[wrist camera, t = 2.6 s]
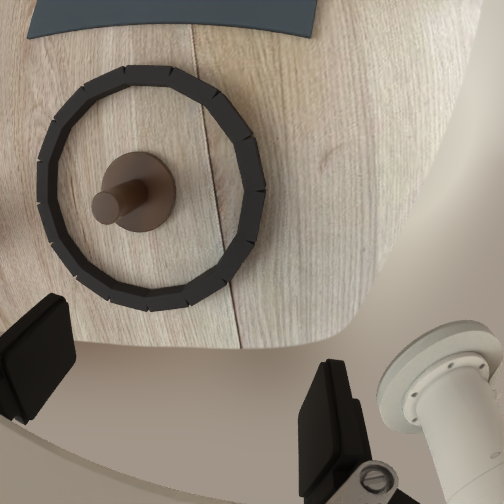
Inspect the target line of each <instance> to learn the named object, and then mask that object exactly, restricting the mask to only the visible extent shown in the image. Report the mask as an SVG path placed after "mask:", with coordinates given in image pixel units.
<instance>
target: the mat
mask: <svg viewBox="0 0 504 504" xmlns="http://www.w3.org/2000/svg"><path fill="white" fill-rule="evenodd" d="M316 5H317V0H37V3H36V6H35V9H34V13H33V16H32V20H31V23H30V27H29V31H28V35H27V39H34V38H38V37H43V36H48V35H53V34H58V33H64V32H70V31H77V30H84V29H91V28H100V27H110V26H121V25H138V24H202V25H218V26H230V27H240V28H249V29H257V30H265V31H271V32H278V33H284V34H290V35H295V36H300V37H305V38H311V34H312V28H313V22H314V17H315V11H316Z"/></svg>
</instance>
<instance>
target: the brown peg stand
mask: <svg viewBox="0 0 504 504" xmlns="http://www.w3.org/2000/svg"><path fill="white" fill-rule="evenodd" d="M175 199H176V187H175V182H174V179H173V176H172V174H171V172H170V170H169V169H168V167H167V166H166V165H165V164H164V163H163V162H162V161H161V160H160V159H158V158H157V157H155V156H153V155H151V154H148V153H144V152H132V153H128V154H124V155H122V156H120V157H119V158H117V159H116V160H114V161H113V162H112V163H111V165H110V166H109V167H108V169H107V170H106V172H105V174H104V177H103V181H102V187H101V192H100V193H98V194H97V195H96V196H95V197H94V198H93V201H92V213H93V215H94V217H95V218H96V220H97V221H99V222H100V223H102V224H106V225H109V224H112V223H114V222H115V223H116V224H118V225H119V226H121V227H122V228H124V229H126V230H129V231H133V232H147V231H150V230H153V229H155V228H157V227H158V226H160V225H161V224H162V223H163V222H164V221H165V220H166V219H167V218H168V217H169V215H170V214H171V212H172V210H173V207H174V204H175Z"/></svg>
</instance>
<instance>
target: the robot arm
mask: <svg viewBox="0 0 504 504" xmlns="http://www.w3.org/2000/svg"><path fill="white" fill-rule="evenodd" d="M75 361H76V351H75V346H74V340H73V334H72V327H71V320H70V312H69V305H68V303H67V302H66V299H65V298H64V297H63V296H60V295H57V294H54V293H50V294H48V295H47V296H46V297H45V298H43V299H42V300H41V301H40V302H39V303H38V304H36V305H35V306H34V307H33V308H32V309H31V310H29V311H28V312H27V313H26V314H25V315H24V316H23V317H21V318H20V319H19V320H18V321H17V322H16V323H15V324H14V325H13V326H11V327H10V328H9V329H8V330H7V331H6V332H5V333H4V334H3V335H2V336H1V337H0V504H243V503H236V502H231V501H226V500H220V499H214V498H209V497H205V496H200V495H196V494H191V493H187V492H183V491H179V490H175V489H171V488H167V487H164V486H160V485H157V484H154V483H150V482H147V481H144V480H140V479H138V478H134V477H131V476H129V475H126V474H122V473H120V472H117V471H114V470H112V469H109V468H106V467H104V466H101V465H99V464H96V463H94V462H91V461H89V460H86V459H84V458H82V457H80V456H77V455H75V454H73V453H71V452H69V451H67V450H65V449H62V448H60V447H58V446H56V445H54V444H52V443H50V442H48V441H46V440H44V439H42V438H40V437H38V436H37V435H35V434H33V433H31V432H29V431H28V430H26V429H24V428H22V427H21V426H19V425H17V424H15V423H13V422H12V420H13V418H15V420H17V421H19V422H20V423H22V424H24V425H26V424H27V423H28V421H29V420H33V419H34V418H35V416H36V415H37V414H38V412H39V411H40V409H41V408H42V407H43V405H44V404H45V402H46V401H47V400H48V398H49V397H50V395H51V394H52V393H53V392H54V390H55V389H56V387H57V386H58V385H59V383H60V382H61V381H62V379H63V378H64V377H65V375H66V374H67V373H68V371H69V370H70V369H71V368H72V366H73V365H74V363H75ZM488 377H489V366H488V364H487V362H486V361H485V359H484V358H483V357H482V356H481V355H480V354H478V353H475V352H459V353H456V354H453V355H450V356H447V357H445V358H443V359H441V360H439V361H438V362H436V363H434V364H433V365H431V366H430V367H429V368H427V369H426V370H425V371H423V372H422V373H421V374H420V375H419V376H418V377H417V378H416V379H415V380H414V382H413V383H412V384H411V385H410V387H409V388H408V390H407V391H406V393H405V396H404V398H403V402H402V410H403V413H404V416H405V418H406V419H407V421H408V422H410V423H411V424H414V425H417V426H421V427H422V430H423V432H424V435H425V438H426V441H427V444H428V447H429V449H430V452H431V455H432V458H433V461H434V465H435V468H436V471H437V474H438V477H439V480H440V483H441V487H442V490H443V493H444V497H445V500H446V504H504V413H503V412H502V410H501V408H500V406H499V404H498V402H497V401H496V400H497V399H500V398H501V396H502V391H501V390H492V389H491V387H490V386H489V384H488V382H487V381H488ZM298 448H299V496H300V497H304V504H420V503H418V502H417V501H415V500H414V499H412V498H411V497H409V496H408V495H406V494H405V493H403V492H402V491H401V490H399V489H398V488H397V487H398V476H397V473H396V472H395V471H394V469H393V468H392V467H390V466H389V465H388V464H386V463H384V462H382V461H377V460H372V455H371V450H370V445H369V441H368V436H367V431H366V426H365V422H364V417H363V413H362V408H361V404H360V401H359V400H358V399H354V398H352V394H351V389H350V386H349V380H348V376H347V371H346V367H345V363H344V361H342V360H334V359H327V360H326V362H321V363H320V365H319V367H318V370H317V372H316V375H315V377H314V380H313V382H312V384H311V387H310V389H309V391H308V394H307V396H306V398H305V400H304V402H303V405H302V407H301V409H300V412H299V416H298Z"/></svg>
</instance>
